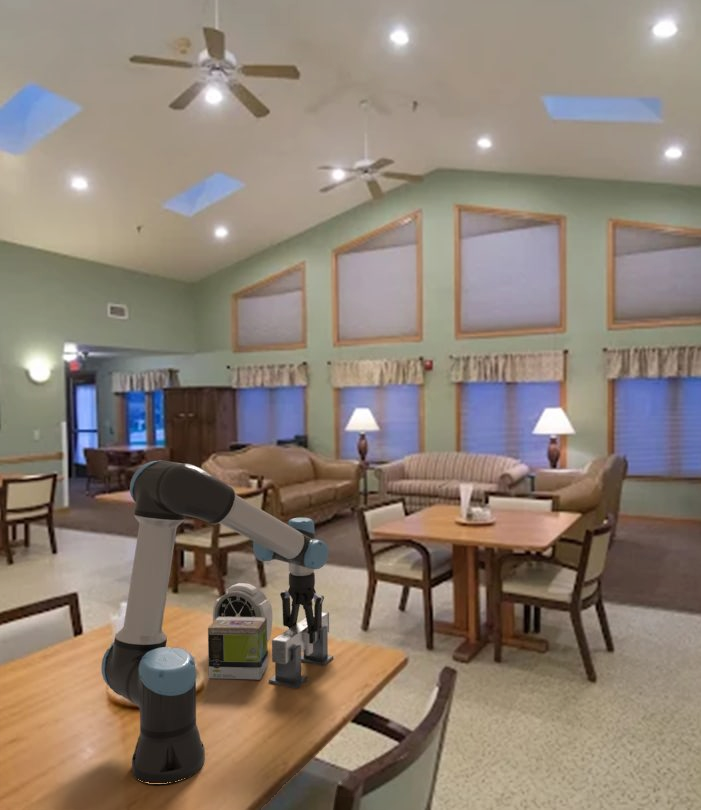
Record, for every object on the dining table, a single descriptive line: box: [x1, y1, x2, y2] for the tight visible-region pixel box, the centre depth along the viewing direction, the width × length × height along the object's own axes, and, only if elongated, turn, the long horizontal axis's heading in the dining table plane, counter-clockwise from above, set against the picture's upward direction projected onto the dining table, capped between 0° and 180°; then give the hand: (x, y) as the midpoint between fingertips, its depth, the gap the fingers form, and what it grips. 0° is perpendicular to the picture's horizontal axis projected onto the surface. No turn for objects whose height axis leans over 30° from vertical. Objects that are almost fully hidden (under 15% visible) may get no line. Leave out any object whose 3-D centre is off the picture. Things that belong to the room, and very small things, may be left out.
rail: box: [271, 610, 330, 665], centre depth 182 cm, size 26×4×6 cm, turn 155°
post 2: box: [301, 626, 334, 667], centre depth 190 cm, size 6×9×10 cm, turn 65°
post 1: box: [268, 645, 309, 690], centre depth 175 cm, size 6×9×10 cm, turn 65°
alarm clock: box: [212, 582, 273, 643], centre depth 198 cm, size 18×8×20 cm, turn 73°
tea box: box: [207, 617, 269, 681], centre depth 181 cm, size 15×10×15 cm, turn 84°
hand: (302, 652), depth 182 cm, fingers closed on rail, 4 cm apart
